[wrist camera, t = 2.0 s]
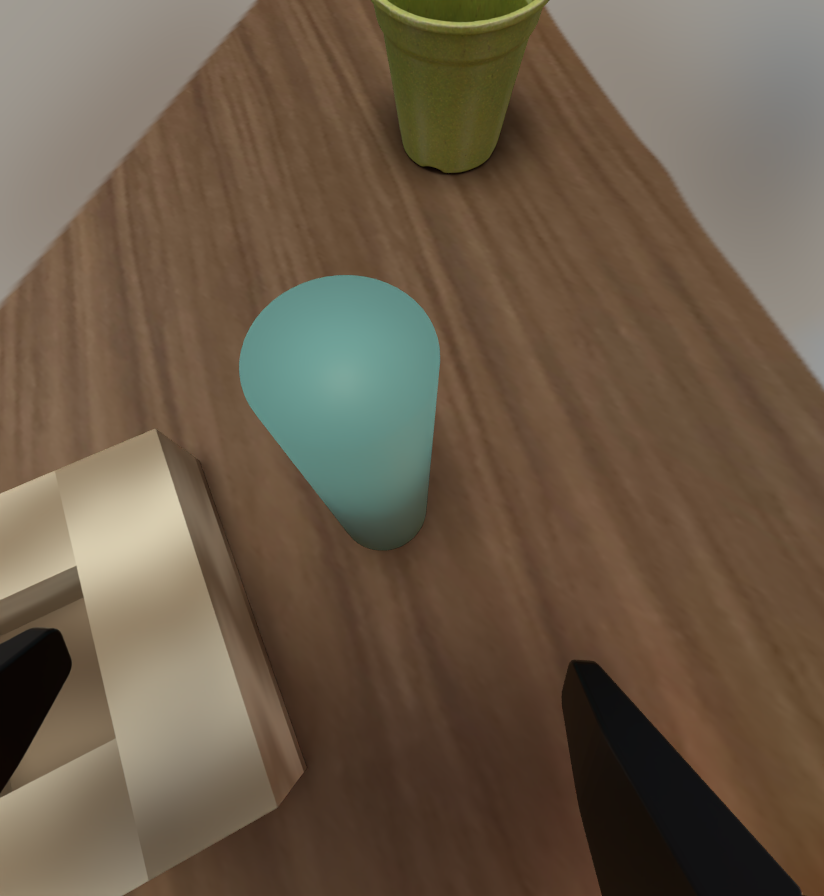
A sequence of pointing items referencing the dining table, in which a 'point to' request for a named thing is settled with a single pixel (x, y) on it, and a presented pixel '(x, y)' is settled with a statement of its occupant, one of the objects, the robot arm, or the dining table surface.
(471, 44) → the plant pot
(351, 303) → the teal cylinder
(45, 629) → the robot arm
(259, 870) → the dining table surface
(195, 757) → the cream square wooden frame
